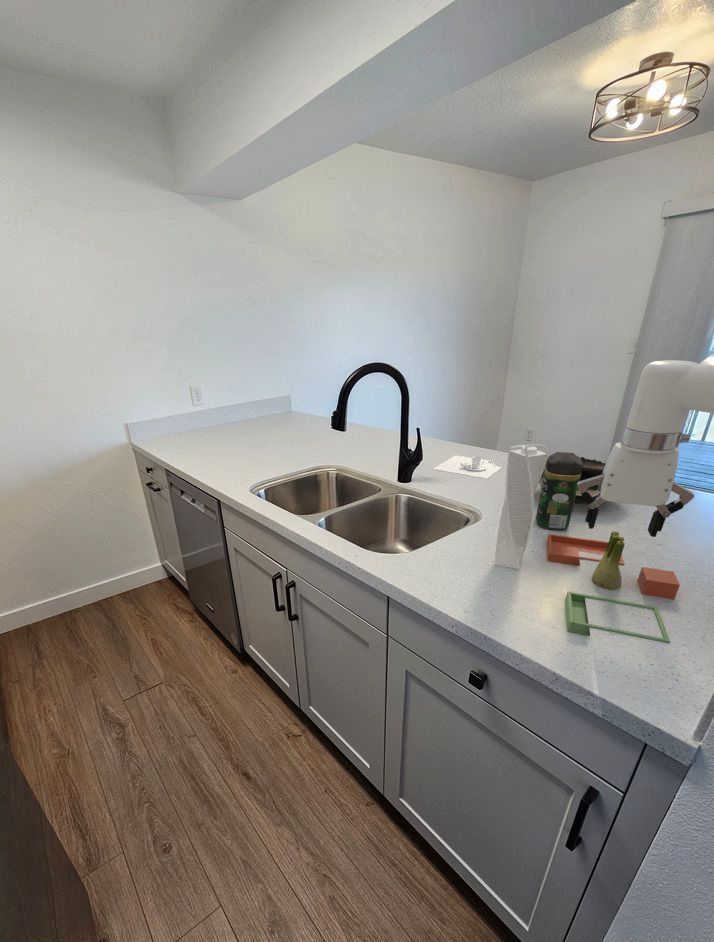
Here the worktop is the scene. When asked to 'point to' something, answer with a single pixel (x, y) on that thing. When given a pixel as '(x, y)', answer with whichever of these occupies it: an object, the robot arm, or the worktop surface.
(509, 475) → the skyscraper
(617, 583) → the fennel bulb
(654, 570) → the terracotta block
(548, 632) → the worktop surface
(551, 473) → the coffee jar
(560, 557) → the terracotta tray
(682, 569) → the worktop surface
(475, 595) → the worktop surface
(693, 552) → the worktop surface
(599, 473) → the stone bowl
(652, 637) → the green rectangular frame
